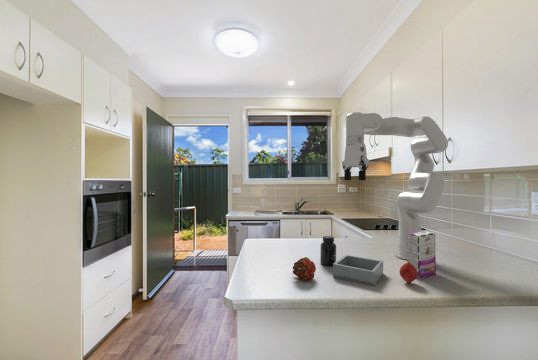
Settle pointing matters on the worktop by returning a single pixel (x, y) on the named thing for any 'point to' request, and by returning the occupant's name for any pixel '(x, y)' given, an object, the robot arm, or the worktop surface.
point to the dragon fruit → (304, 268)
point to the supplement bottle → (328, 251)
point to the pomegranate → (408, 272)
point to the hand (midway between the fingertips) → (354, 180)
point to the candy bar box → (422, 252)
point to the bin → (358, 269)
